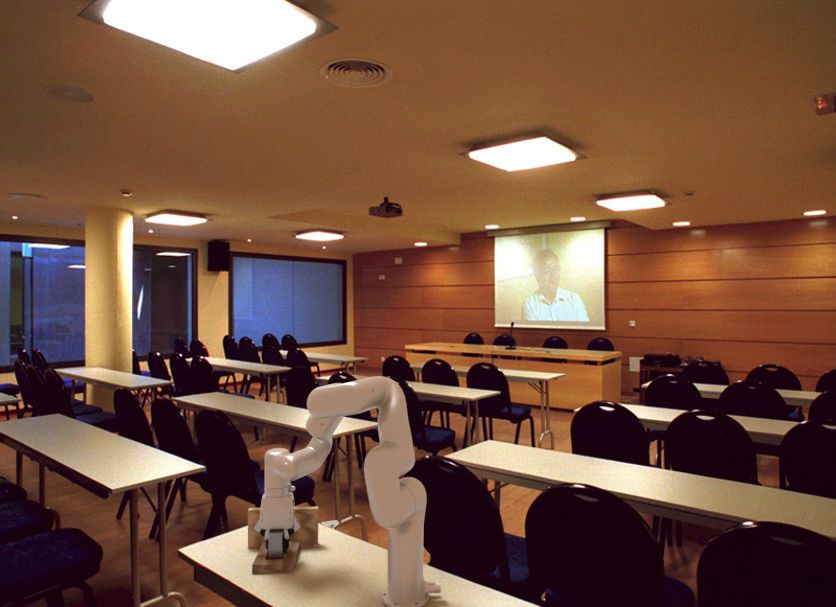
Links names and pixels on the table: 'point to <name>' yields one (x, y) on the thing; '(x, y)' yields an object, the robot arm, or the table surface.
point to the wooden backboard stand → (299, 538)
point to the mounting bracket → (330, 523)
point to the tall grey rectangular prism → (276, 544)
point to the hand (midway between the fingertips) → (277, 550)
